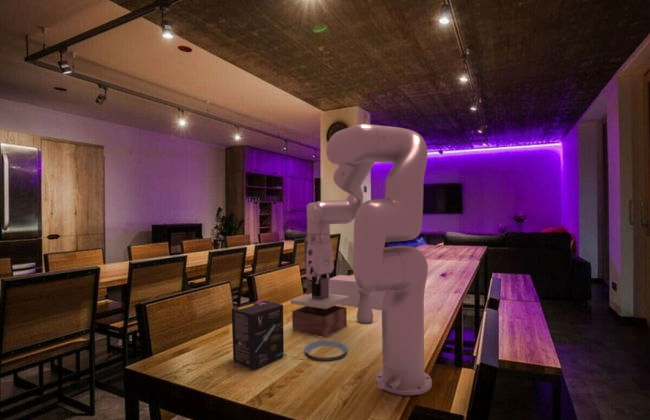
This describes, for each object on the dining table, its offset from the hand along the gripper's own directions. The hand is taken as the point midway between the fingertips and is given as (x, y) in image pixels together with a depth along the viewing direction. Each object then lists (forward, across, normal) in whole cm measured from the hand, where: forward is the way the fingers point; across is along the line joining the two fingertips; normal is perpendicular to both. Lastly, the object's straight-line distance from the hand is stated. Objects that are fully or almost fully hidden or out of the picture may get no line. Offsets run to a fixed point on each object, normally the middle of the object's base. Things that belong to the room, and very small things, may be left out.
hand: (320, 293), depth 120 cm
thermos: (+12, +14, +12) cm, 22 cm away
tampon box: (+13, -28, +1) cm, 30 cm away
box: (+12, 0, +1) cm, 12 cm away
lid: (+3, 0, 0) cm, 3 cm away
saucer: (+13, -16, -13) cm, 24 cm away
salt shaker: (+13, +14, -9) cm, 21 cm away
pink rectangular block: (+12, +37, +2) cm, 39 cm away
